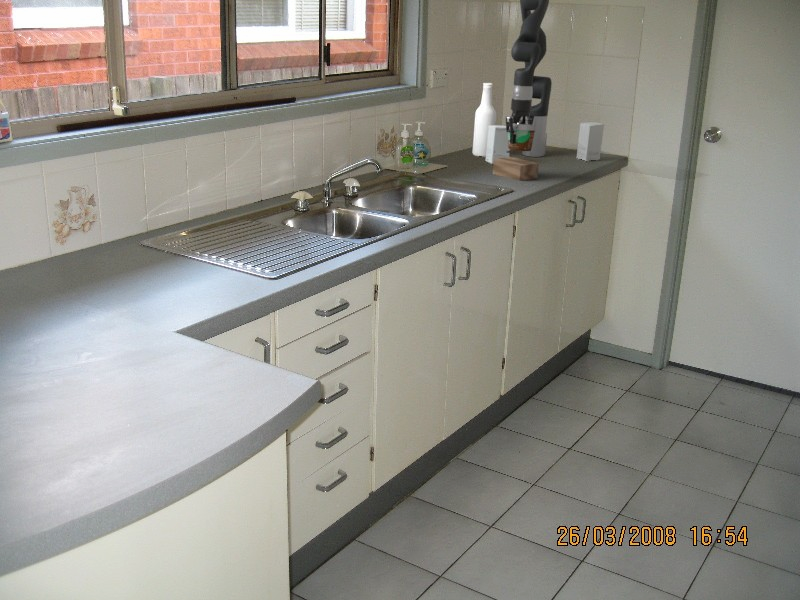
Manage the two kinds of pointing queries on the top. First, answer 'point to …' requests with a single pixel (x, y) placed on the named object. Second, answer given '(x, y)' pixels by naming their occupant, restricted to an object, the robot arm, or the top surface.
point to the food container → (522, 137)
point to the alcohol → (483, 121)
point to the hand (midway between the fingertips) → (517, 143)
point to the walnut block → (515, 168)
